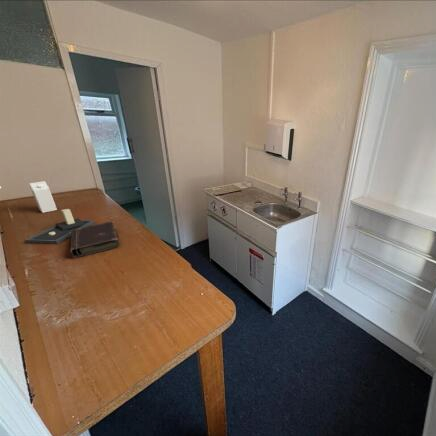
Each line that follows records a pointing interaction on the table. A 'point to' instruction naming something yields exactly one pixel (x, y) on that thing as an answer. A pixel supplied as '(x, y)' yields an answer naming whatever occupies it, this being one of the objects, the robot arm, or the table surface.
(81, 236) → the diary
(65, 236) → the grey shallow rectangular tray
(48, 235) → the pad
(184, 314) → the table surface
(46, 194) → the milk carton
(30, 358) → the table surface
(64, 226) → the loose pad
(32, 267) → the table surface
